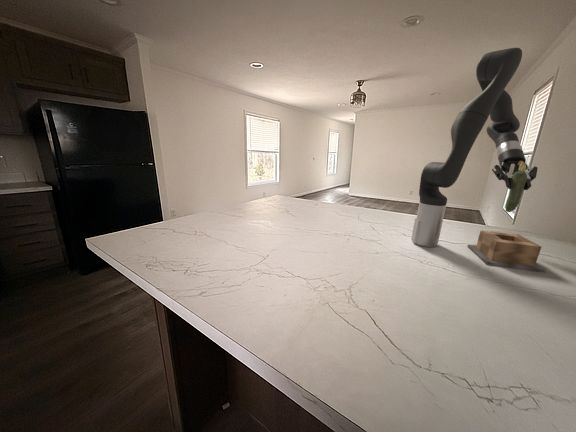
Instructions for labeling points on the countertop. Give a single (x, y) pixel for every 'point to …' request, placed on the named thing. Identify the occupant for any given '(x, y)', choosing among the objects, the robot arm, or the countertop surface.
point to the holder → (507, 251)
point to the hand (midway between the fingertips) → (519, 188)
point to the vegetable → (516, 188)
